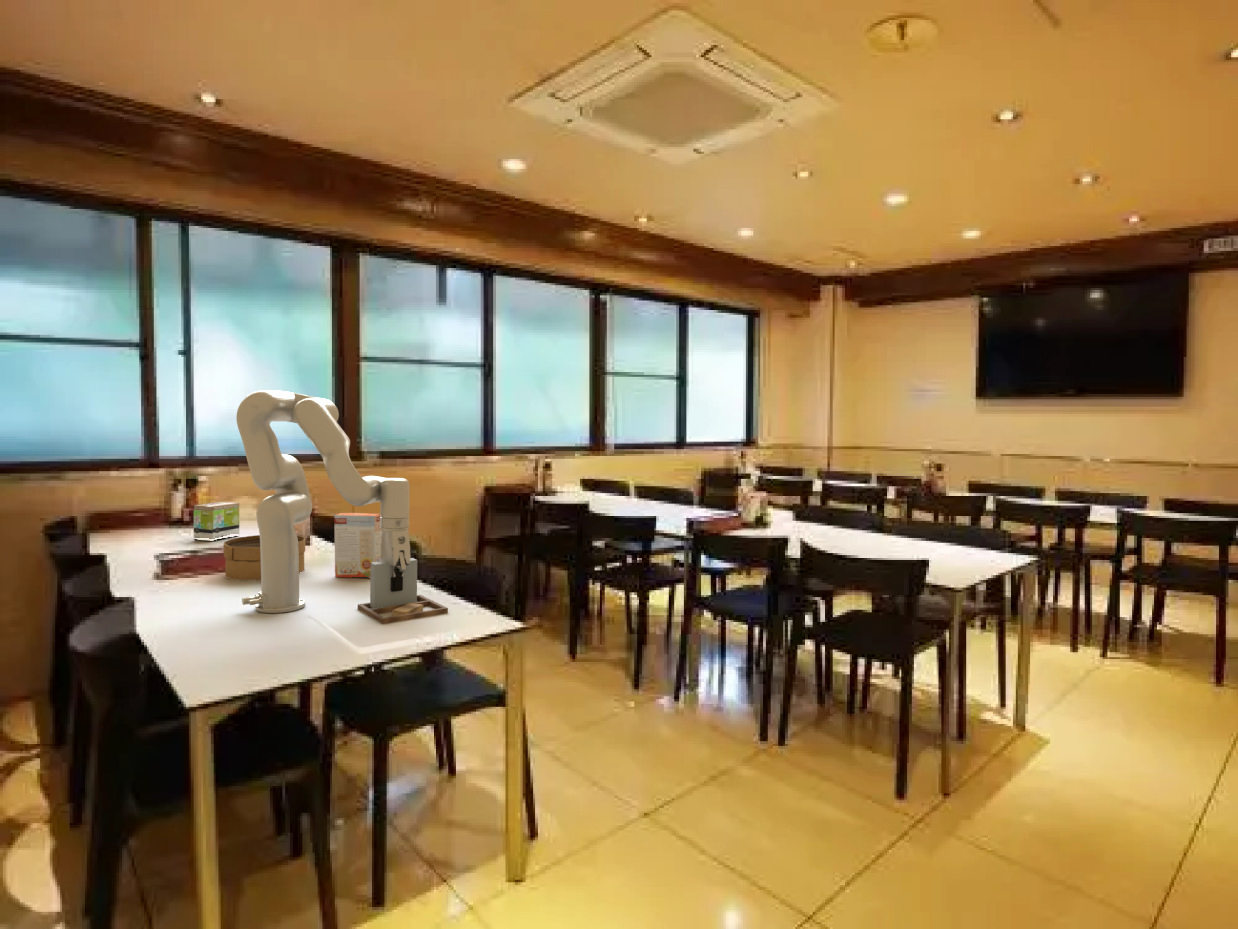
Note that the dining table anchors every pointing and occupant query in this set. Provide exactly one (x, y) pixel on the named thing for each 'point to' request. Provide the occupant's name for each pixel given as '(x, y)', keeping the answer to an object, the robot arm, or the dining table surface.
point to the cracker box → (356, 543)
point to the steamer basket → (250, 557)
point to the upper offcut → (407, 609)
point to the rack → (423, 600)
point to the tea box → (216, 520)
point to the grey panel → (382, 585)
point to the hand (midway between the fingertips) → (394, 589)
